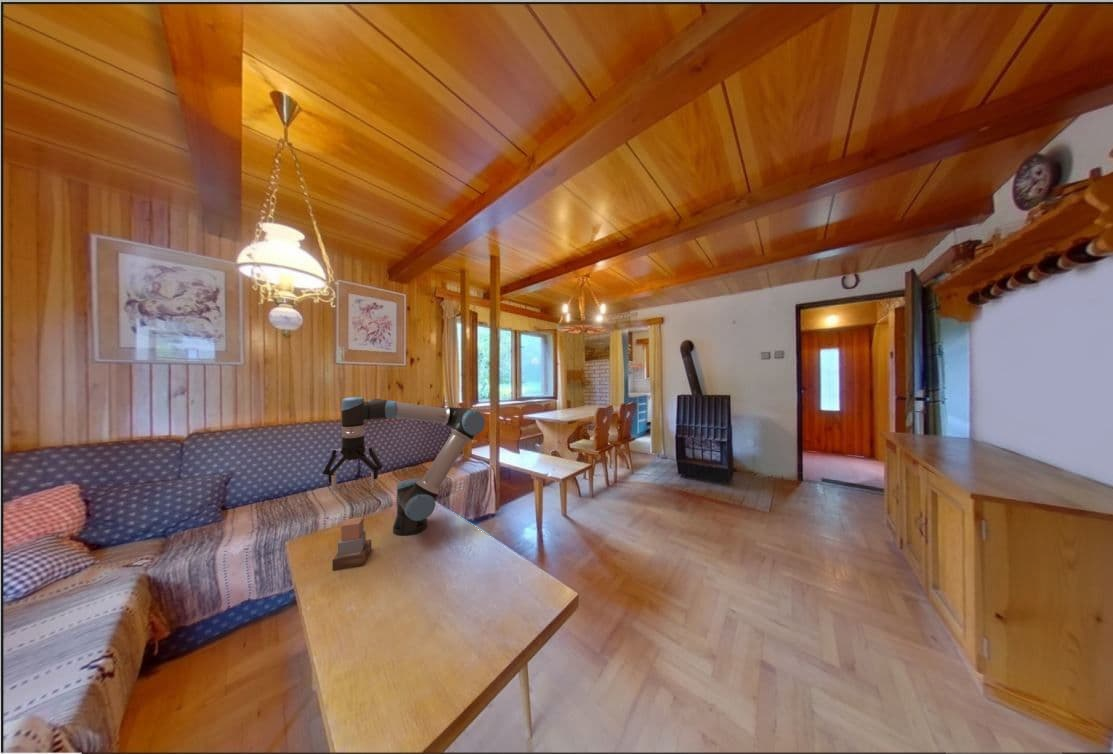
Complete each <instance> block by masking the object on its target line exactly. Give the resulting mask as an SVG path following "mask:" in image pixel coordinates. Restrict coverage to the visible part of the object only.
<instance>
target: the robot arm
mask: <svg viewBox="0 0 1113 754" xmlns="http://www.w3.org/2000/svg"><path fill="white" fill-rule="evenodd" d="M386 419H387V420H389V419H402V420H410V421H411V420H412V421H419V422H420V421H421V422H428V423H436V424H437V423H438V424H442V426H446V427H447V426H448V427H451V428H450V431H451V434H450V435H449V437H448V439H447V440H446V442H444V445H443V447H442V448H441V449H440V451H439V452H438V454H437V456H436V458H434V460H433V461H432V463H431V465H430V466H429V468H428V469H427V471H426V472H425V474H424V476H423V477H422V478H411V479H405V480H402V481H400V482H398V483H397V485H396V516H395V520H394V522H393V526H392V533H393V534H394V535H395V536H399V537H406V536H412V535H416V534H418V533H421V532H423V531H424V530H425V529H427V527H428V518H429V517H430V516H431V515H433V512H434V510H435V509H436V500H437V498H438V497H439V495H440V491H439V489H440V487H441V485H442V483H443V482H444V481H445V479H446V477H447V475H448V474H449V473H450V471H451V469H452V468H453V466H454V464H455V462H457V459H458V458H459V457H460V454H461V453H462V452H463V450H464V448H465V446H466V445H467V443H469V442H472V441H473V440H474V438H475V436H476V435H479V434H480V433H482V432H483V430H484V429H485V426H486V419H485V417H484V415H483V413H482V412H480V411H479V410H477V409H475V408H474V409H473V408H468V407H452V406H445V408H443V407H436V406H429V405H422V404H415V403H410V402H409V403H408V402H401V401H396V400H389V399H388V400H387V399H381V398H377V397H376V398H372V399H371V400H369V401H365V398H364V397H359V396H358V397H356V396H355V397H345V398H343V399H342V400H341V437H342V438H341V449H338V448H335V449H333V450H332V452H331V456H330V458H329V461H328V462H327V464H326V466H325V467H324V469H323V471H322V474H323V475H328V483H329V484H331V493H335V492H336V491H337V489H338V488H337V473H336V471H337V470H338V469H339V468H340V466H342V464H343V463H344V462H345V461H347V460H348V461H353V460H354V461H357V460H360V461H362V462H363V463H364V464H365V465H366V466H367V467H368V468H370V470H372V471H371V472H370V483H371V484H370V488H371V489H374V488H376V487H375V486H376V480H377V479H378V477H379V475H378V473H379V472H378V471H380V470H381V469H383V467H384V466H383V464H382V462H381V460H380V459H379V457H378V455H377V454H376V452H375V449H374V446H373V445H372V446H370V447H365V444H366V443H365V440H366V439H365V421H371V420H386ZM366 452H367V453H368V454H369V456H370V458H371V459H372V461H371V460H370V458H368V457H367V456H366V454H365V453H366ZM340 454H341V455H342V458H341V459H339V461H338V462H337V463H336V464H335V466H333V465H334V462H335V461H336V459H337V457H338V456H339V455H340ZM332 466H333V468H332ZM331 468H332V469H331Z"/></svg>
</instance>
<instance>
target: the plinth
mask: <svg viewBox="0 0 1113 754" xmlns="http://www.w3.org/2000/svg"><path fill="white" fill-rule="evenodd" d="M371 551H372V539H366V542H365V545H364V548H363V551H362V552H359V553H354V554H349V555H344V556H339V557H338V552H337V553H336V555H335V556H334V557H333V558H332V571H338V570H345V569H351V568H358V567H363V566H364V564H365V562H366V561H367V558H368V557H369V555H370V553H371Z"/></svg>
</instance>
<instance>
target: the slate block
mask: <svg viewBox="0 0 1113 754" xmlns="http://www.w3.org/2000/svg"><path fill="white" fill-rule="evenodd" d="M366 533H367V532H366V529H364V532H363V533H362V535H361V537H360V538H359V539H356V540H348V541H341V537H340V538H339V541H338V542H337V553H338V557H339V556H344V555H349V554H354V553H359V552H362V551H363V548H364V545H365V542H366V540H367V534H366Z"/></svg>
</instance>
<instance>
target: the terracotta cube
mask: <svg viewBox="0 0 1113 754" xmlns="http://www.w3.org/2000/svg"><path fill="white" fill-rule="evenodd" d="M364 521H365V520H364V517H361V516H360V517H352V518H346V519H345V521H344V522H343V523H342V524H341V525H340V527H341V528H340V530H341V531H340V532H341V534H340V538H341V541H348V540H356V539H359V538H360V537H361V535H362V533H363V532H364V530H365V529H364Z"/></svg>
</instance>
